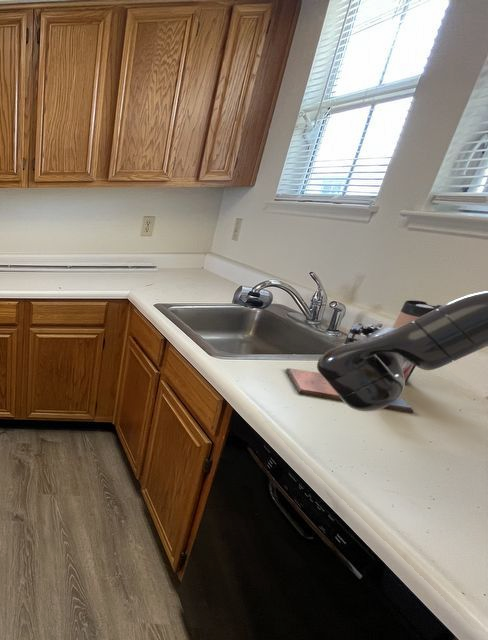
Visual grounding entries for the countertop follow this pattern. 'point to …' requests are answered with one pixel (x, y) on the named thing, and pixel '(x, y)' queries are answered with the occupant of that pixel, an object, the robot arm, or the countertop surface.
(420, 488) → the countertop surface
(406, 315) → the travel mug
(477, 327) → the robot arm
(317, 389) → the sorting board
